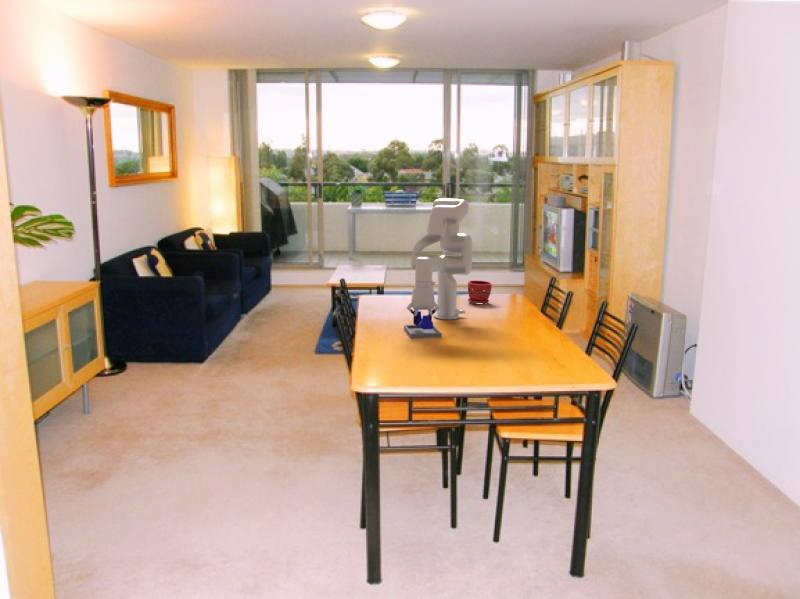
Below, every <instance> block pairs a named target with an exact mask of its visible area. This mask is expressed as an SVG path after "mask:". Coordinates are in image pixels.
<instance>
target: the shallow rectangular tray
mask: <svg viewBox="0 0 800 599" xmlns="http://www.w3.org/2000/svg"><path fill="white" fill-rule="evenodd" d="M403 330H404V332H405V333H406V335H407V336H408V337H409V339H441V338H442V337H443V333H442V332H441V331H440V330H439V329H438V328H437V327H436V325H434V324H433V329H422V328H420V327H418V326H416V325H414V324H404V325H403Z"/></svg>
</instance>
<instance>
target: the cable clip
mask: <svg viewBox="0 0 800 599" xmlns="http://www.w3.org/2000/svg"><path fill="white" fill-rule="evenodd" d="M417 316H418V324H417V325H416V324H415V323H414V317H412V318H413V319H412V320H413V323H412V325H416V326H418V327H420V328H422V329H433V325H434V322H433V321H432V322H431V321H430V316H429V315H428V314H427V315H422V310H418V313H417Z"/></svg>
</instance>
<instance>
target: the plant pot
mask: <svg viewBox="0 0 800 599" xmlns="http://www.w3.org/2000/svg"><path fill="white" fill-rule="evenodd" d="M492 285H493V284H492V282H489V281H486V280H469V281H468V282H467V293H468V297H469V298H467V301H468V302H469V303H470V302H471V303H470V304H472V303H487V304H488V303H489V302H490V300H489V297H490V295H491V293H492Z"/></svg>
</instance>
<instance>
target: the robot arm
mask: <svg viewBox="0 0 800 599" xmlns="http://www.w3.org/2000/svg"><path fill="white" fill-rule="evenodd" d="M469 206H470V205H469V203H468V201H467V200H466V199H461V198H460V199H459V198H437V199H435V200H433V202H432V208H431V211H430V215H429V219H428V224H427V229H426V232H425V234H424V235H423V236H421V237H420V238H419V239H418V240H417V242H415V244H414V246H413V249H412V253H411V258H410V267H411V269H412V270H414V271H415V280H414V282H415V283H414V287H413V288H412V292H411V293H412V294H411V302H410V303H409V304H408V305H407V306H406V310H407V311H409V312H410V313H411V314H412V315H413V318H414V323H415V324H416V325H417V324H418V316H417V313H418V311H422V310H423V311H424V310H425V311H427V312H428V314H427V315H429V316H430V321H431V322H433V320H432V318H436V319H439V320H456V319H459V318H460V314H461V315H462V314H463V315H465V314H466V309H458V308H457V292H458V290H457V288H458V284H457V280H456V278H455V277H454V276H455V275H456V276H468V275H469V274H471V271H472V264H473V239H472V236H471V235H470V234H468V233H460V232H458V227H459V226H458V224H459V223H461V222H462V221H463V220H464V219H465V218H466V217H467V215H468V213H469ZM436 243H439V247H440V251H442V252H445V253H455V254H442V255H435V254H422V253H421V252H422V251H423V250H424V249H425V248H427V247H428V246H431V245H433V244H436ZM457 254H459V255H457ZM460 254H461V255H460ZM435 272H437V297H436V298H437V302H435V292H434V291H435V288H434V287H433V286H435V285H436V281H433V273H435Z"/></svg>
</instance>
